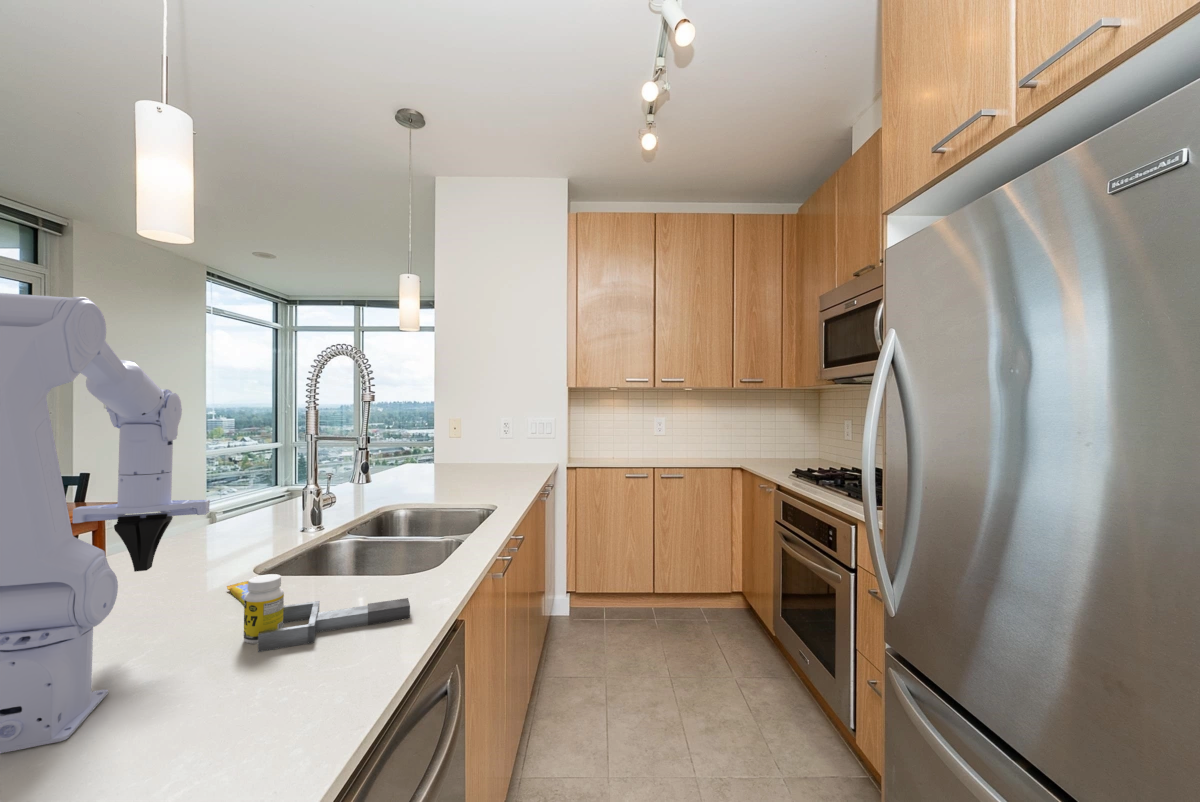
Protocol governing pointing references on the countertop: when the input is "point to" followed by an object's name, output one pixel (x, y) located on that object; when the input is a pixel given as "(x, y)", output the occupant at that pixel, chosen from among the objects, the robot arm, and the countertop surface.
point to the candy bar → (239, 590)
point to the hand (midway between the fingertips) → (143, 569)
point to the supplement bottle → (263, 606)
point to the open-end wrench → (328, 621)
